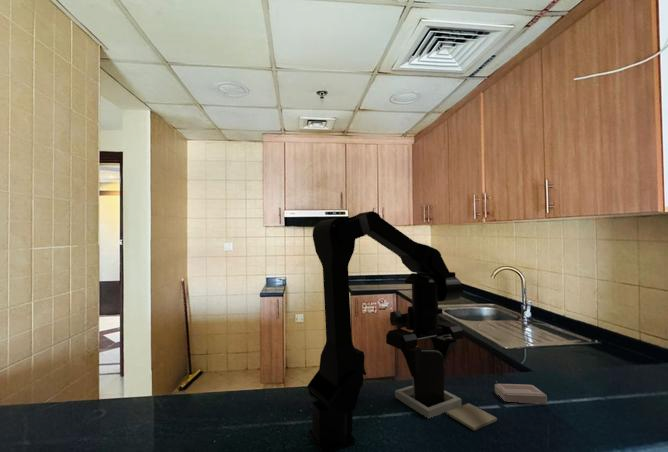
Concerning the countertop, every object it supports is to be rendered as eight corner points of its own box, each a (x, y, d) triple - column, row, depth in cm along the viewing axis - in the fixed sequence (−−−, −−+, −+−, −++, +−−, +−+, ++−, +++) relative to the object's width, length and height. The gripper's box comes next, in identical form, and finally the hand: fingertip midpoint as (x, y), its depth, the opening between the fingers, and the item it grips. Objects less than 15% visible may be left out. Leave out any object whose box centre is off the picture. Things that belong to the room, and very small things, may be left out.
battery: (439, 397, 68) (438, 346, 69) (446, 406, 64) (444, 351, 65) (409, 397, 68) (408, 346, 69) (414, 406, 64) (413, 351, 65)
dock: (428, 418, 59) (428, 411, 60) (395, 397, 68) (395, 390, 68) (461, 406, 64) (461, 399, 64) (426, 387, 73) (426, 381, 73)
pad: (474, 430, 55) (474, 428, 56) (446, 414, 61) (446, 411, 61) (497, 420, 59) (496, 417, 59) (468, 405, 64) (468, 403, 64)
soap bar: (494, 393, 71) (493, 382, 71) (533, 394, 70) (533, 383, 71) (505, 404, 66) (505, 393, 66) (548, 406, 65) (547, 394, 65)
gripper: (427, 295, 79) (428, 355, 78) (370, 301, 70) (371, 369, 69) (463, 302, 70) (465, 370, 68) (403, 309, 61) (404, 388, 59)
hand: (426, 373), depth 67 cm, fingers closed on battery, 7 cm apart
